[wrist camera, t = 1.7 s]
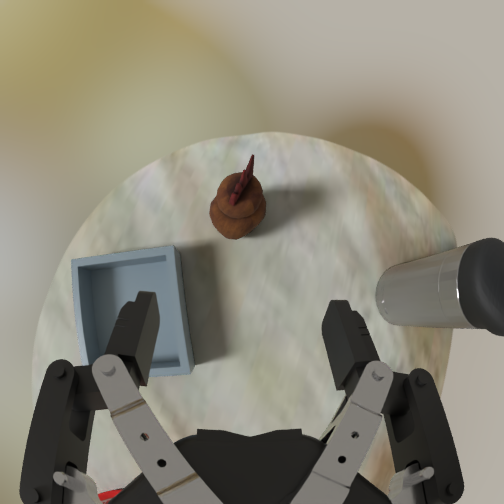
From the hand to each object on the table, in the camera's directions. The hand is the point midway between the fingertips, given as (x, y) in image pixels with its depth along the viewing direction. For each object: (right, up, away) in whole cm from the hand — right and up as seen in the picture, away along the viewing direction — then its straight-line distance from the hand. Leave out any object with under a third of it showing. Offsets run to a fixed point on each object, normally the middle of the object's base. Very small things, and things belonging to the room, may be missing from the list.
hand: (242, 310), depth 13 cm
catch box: (-15, -6, +23) cm, 28 cm away
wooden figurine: (-2, +7, +26) cm, 27 cm away
